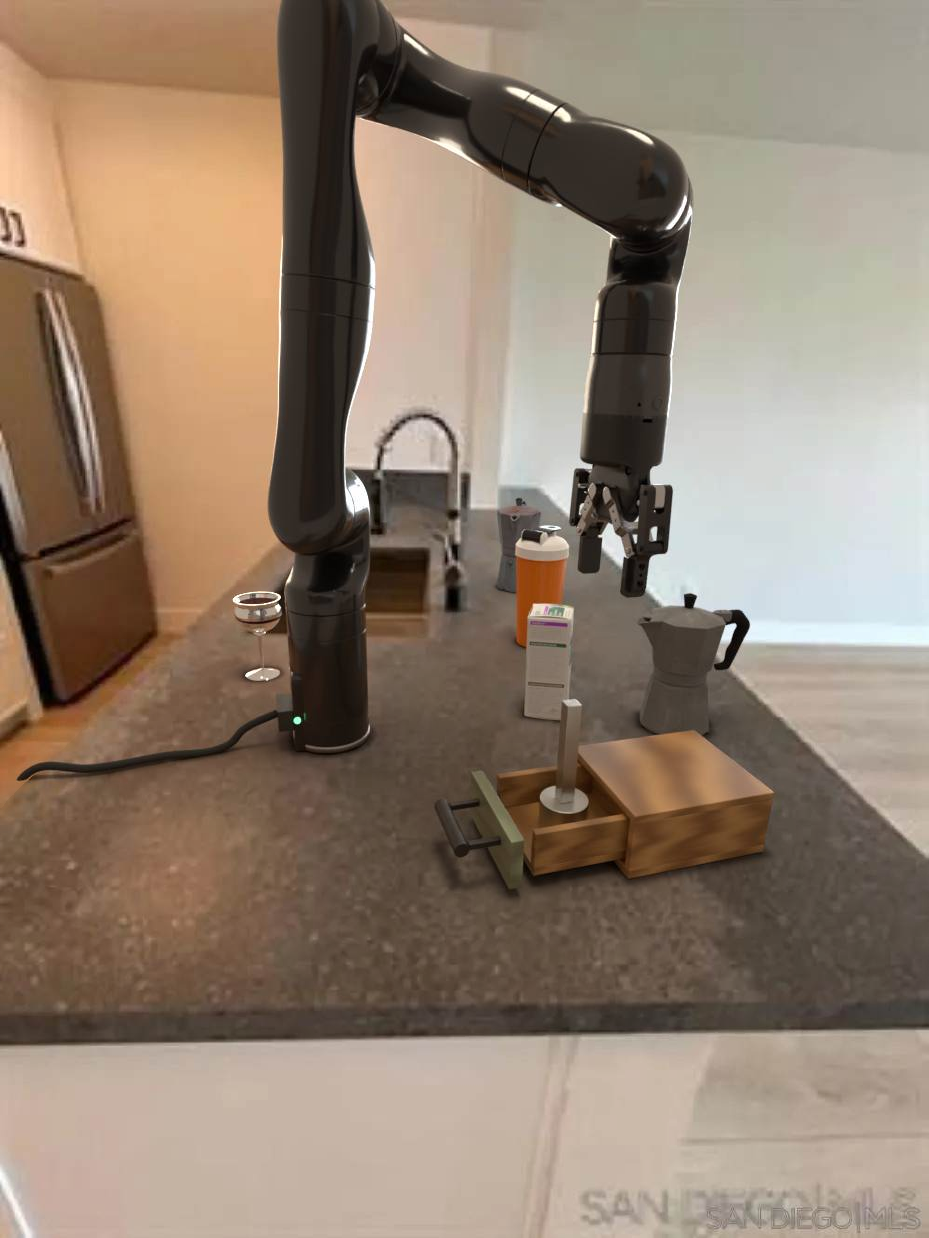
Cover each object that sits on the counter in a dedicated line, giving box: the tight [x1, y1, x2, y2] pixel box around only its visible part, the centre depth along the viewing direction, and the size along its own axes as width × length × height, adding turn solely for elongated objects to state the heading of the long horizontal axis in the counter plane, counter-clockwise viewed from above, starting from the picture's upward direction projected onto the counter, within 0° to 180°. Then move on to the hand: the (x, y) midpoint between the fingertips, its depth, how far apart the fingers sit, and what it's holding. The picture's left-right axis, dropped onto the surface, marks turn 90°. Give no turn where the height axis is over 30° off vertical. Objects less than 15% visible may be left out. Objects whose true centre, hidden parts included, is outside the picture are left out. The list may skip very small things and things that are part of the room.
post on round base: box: [538, 698, 589, 828], centre depth 62 cm, size 5×5×13 cm
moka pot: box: [496, 497, 542, 593], centre depth 148 cm, size 10×15×20 cm, turn 171°
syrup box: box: [523, 604, 575, 721], centre depth 90 cm, size 6×6×14 cm
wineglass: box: [232, 591, 283, 682], centre depth 100 cm, size 7×7×12 cm
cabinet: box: [577, 730, 775, 880], centre depth 67 cm, size 15×13×7 cm
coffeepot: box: [636, 592, 751, 737], centre depth 87 cm, size 15×9×18 cm, turn 101°
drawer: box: [433, 762, 630, 890], centre depth 63 cm, size 18×11×5 cm, turn 107°
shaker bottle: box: [515, 525, 570, 648], centre depth 114 cm, size 9×9×20 cm
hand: (609, 583), depth 66 cm, fingers open, 8 cm apart
